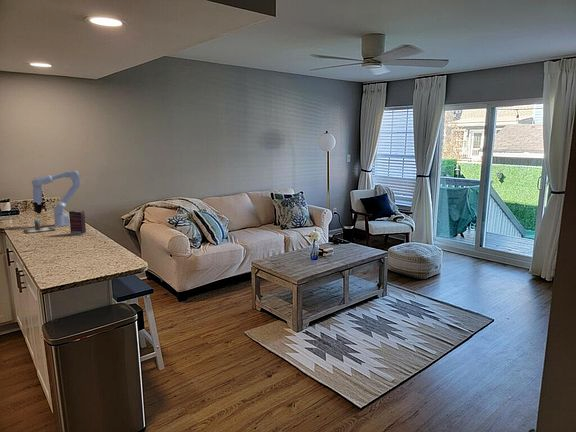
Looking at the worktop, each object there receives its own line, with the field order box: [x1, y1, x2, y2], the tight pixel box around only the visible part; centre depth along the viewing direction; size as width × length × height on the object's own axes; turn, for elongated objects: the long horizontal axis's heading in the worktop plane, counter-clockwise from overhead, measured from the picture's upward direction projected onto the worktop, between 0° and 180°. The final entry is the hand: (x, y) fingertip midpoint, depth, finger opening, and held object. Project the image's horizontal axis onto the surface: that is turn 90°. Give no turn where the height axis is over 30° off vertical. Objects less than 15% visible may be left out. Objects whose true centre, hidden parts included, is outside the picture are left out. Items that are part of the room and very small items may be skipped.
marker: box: [33, 219, 41, 230], centre depth 283 cm, size 3×3×7 cm
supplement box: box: [68, 210, 87, 236], centre depth 274 cm, size 9×5×16 cm, turn 84°
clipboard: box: [23, 226, 56, 235], centre depth 284 cm, size 18×14×2 cm
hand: (38, 212), depth 296 cm, fingers open, 7 cm apart
